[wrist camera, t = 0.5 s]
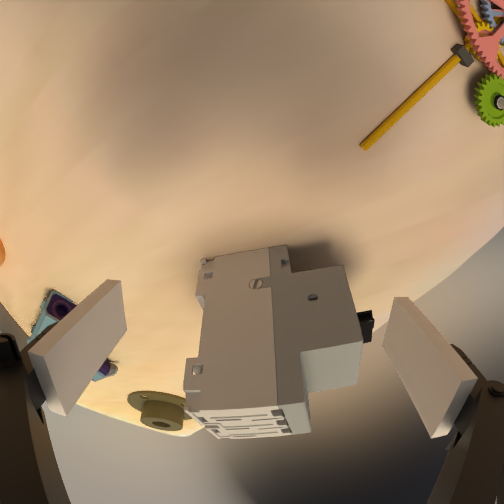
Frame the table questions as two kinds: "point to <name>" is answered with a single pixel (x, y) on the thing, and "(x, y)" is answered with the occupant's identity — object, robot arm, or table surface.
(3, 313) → the tray
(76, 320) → the robot arm
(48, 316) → the pistol
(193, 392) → the circuit breaker
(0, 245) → the orange joystick peg
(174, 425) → the flange
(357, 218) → the table surface
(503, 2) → the mechanical gear assembly
